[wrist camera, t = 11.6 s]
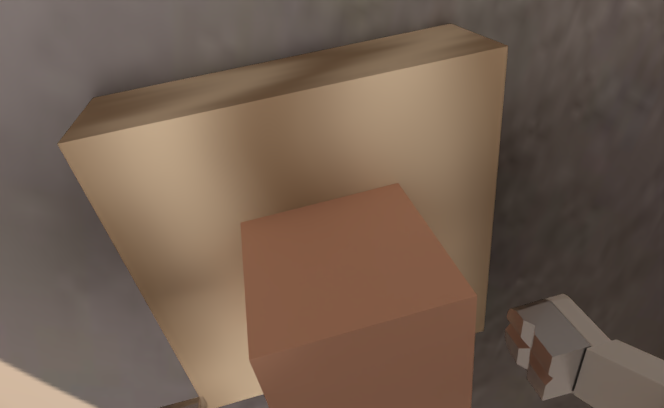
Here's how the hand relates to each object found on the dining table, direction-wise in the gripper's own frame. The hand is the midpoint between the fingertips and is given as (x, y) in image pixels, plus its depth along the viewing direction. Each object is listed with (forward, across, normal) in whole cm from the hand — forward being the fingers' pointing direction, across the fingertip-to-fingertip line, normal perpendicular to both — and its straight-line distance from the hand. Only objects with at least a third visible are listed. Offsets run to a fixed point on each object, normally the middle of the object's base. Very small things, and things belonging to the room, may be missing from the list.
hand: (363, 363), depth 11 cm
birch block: (+8, 0, 0) cm, 8 cm away
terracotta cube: (+4, 0, 0) cm, 4 cm away
